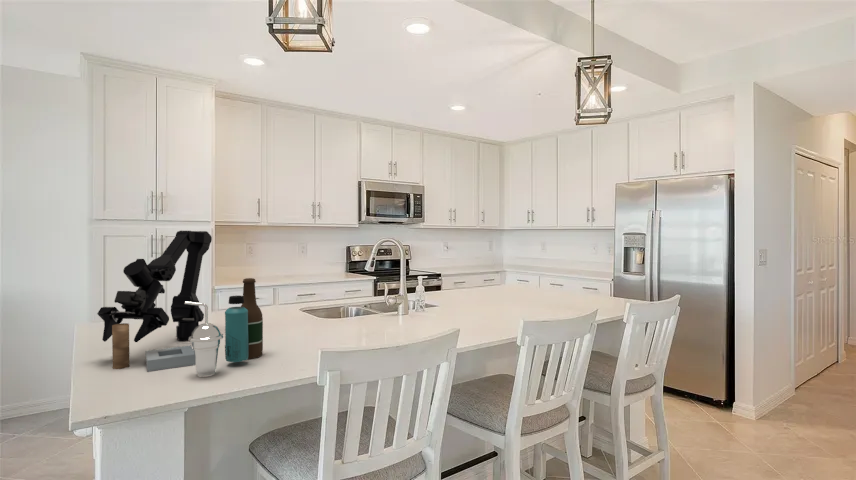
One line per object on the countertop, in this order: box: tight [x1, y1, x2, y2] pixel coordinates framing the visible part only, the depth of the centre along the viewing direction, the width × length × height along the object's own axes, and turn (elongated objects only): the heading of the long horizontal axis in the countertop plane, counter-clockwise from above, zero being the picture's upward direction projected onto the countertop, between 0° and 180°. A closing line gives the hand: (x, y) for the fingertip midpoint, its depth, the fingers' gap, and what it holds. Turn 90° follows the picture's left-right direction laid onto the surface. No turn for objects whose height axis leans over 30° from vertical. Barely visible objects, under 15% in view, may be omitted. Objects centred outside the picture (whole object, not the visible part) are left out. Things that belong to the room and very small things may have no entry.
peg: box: [111, 322, 131, 370], centre depth 131 cm, size 4×4×12 cm
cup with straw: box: [185, 301, 224, 378], centre depth 125 cm, size 8×9×20 cm
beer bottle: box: [240, 277, 264, 360], centre depth 142 cm, size 8×8×24 cm
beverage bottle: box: [224, 295, 249, 363], centre depth 134 cm, size 6×7×20 cm
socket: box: [144, 344, 196, 373], centre depth 135 cm, size 12×12×3 cm
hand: (119, 341), depth 130 cm, fingers open, 9 cm apart
